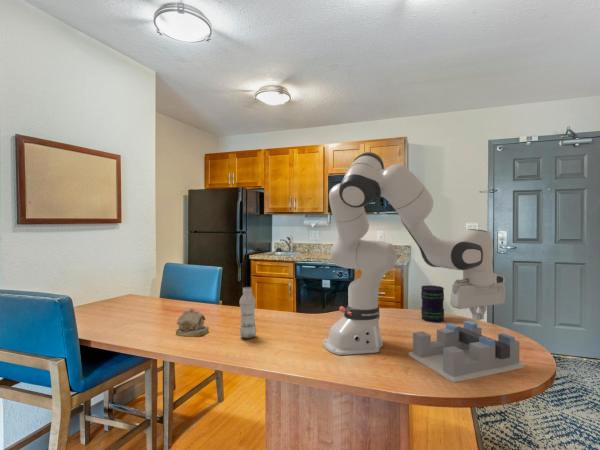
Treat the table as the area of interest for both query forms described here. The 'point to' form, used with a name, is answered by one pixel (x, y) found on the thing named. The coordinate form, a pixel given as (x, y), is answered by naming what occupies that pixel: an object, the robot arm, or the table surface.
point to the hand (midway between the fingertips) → (478, 319)
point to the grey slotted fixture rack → (463, 353)
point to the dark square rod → (471, 337)
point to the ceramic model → (191, 324)
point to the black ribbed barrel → (432, 303)
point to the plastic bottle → (247, 313)
